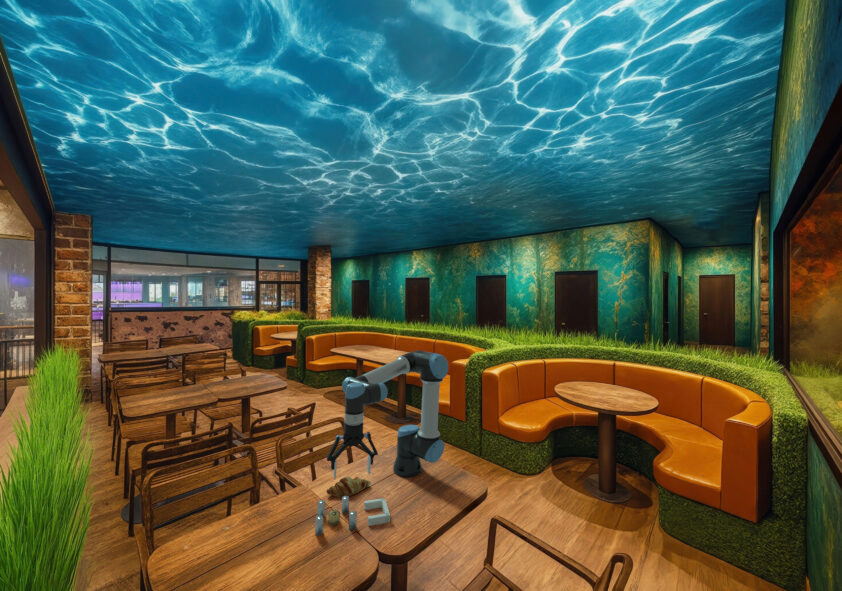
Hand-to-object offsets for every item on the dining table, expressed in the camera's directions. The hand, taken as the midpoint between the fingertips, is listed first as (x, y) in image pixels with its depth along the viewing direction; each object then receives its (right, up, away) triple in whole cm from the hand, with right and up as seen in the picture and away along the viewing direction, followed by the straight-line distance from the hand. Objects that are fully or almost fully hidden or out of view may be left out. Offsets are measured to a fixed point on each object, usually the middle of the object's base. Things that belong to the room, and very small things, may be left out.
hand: (352, 474), depth 140 cm
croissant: (-6, -21, +25) cm, 33 cm away
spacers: (-8, -21, +3) cm, 23 cm away
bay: (+9, -22, +8) cm, 25 cm away
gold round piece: (-8, -21, +3) cm, 23 cm away
